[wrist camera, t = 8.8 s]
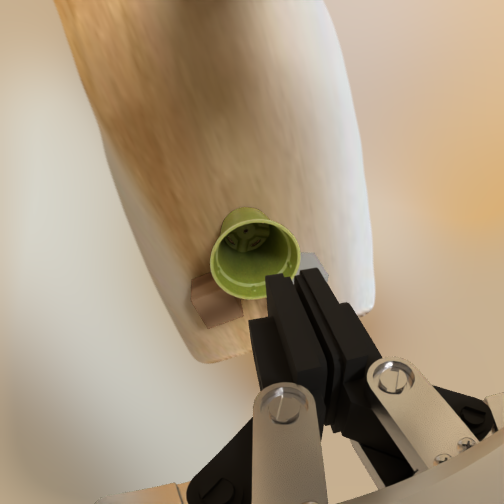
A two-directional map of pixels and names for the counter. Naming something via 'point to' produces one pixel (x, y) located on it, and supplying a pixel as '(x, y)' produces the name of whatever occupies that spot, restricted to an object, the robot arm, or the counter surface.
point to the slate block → (311, 264)
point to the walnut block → (214, 302)
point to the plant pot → (252, 253)
